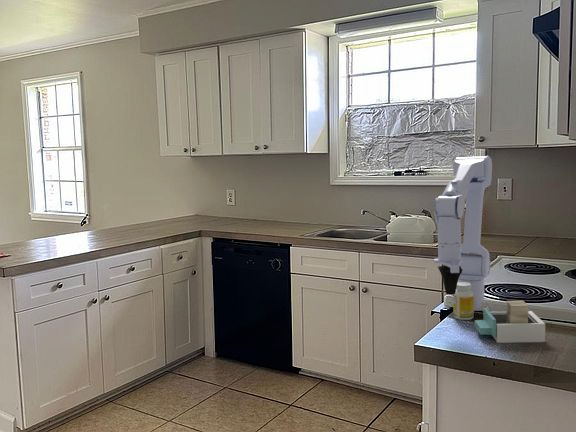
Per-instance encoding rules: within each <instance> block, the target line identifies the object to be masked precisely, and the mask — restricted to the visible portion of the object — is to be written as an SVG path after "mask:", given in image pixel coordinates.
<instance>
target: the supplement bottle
mask: <svg viewBox="0 0 576 432" xmlns="http://www.w3.org/2000/svg"><path fill="white" fill-rule="evenodd" d="M470 289H471V284H470V283H468V282H458V283H457V287H456V292H455V294H452V296H453V297H452V299H453V301H452V302H453V303H452V304H453V305H452V306H453V315H452V316H453V318H454V319H456V320H460V321H470V320H472V319H474V316H475V315H474V313H475V311H474V295H473V292H472V291H471V290H470Z"/></svg>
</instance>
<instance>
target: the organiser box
mask: <svg viewBox="0 0 576 432" xmlns="http://www.w3.org/2000/svg"><path fill="white" fill-rule="evenodd" d="M489 312H490V313H491V314H506V311H489ZM528 315H529V316H530V317H531V318H532V319H533V320H534V321H535V322H536V323H519V324H497V336H496V337H493V339H494V340H495V342H497V344H498V343H499V344H500V343H507V344H508V343H546V322H544V321H543V320H542V319H541V318H539V316H538V315H537V314H535V313H534V311H532V310H528Z"/></svg>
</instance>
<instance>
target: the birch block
mask: <svg viewBox="0 0 576 432" xmlns="http://www.w3.org/2000/svg"><path fill="white" fill-rule="evenodd" d="M505 303H506V311H505V312H506V316H507V324H519V323H528V311H529V305H528V304H527V303H526V302H525V301H524V300H506V302H505Z"/></svg>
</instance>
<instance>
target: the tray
mask: <svg viewBox="0 0 576 432" xmlns="http://www.w3.org/2000/svg"><path fill="white" fill-rule="evenodd" d="M487 308H488V307H487ZM487 308H483V311H482V312H483V313H482V314H483V315H482V316H483V317H482V318H483V319H476V320H475V319H474V327H475V329H476V330H477V332H478V333H479V335H491V337H493V338H494V337H496V336H497V324H507V316H506V314H491V313H490V312H491V311H490V310H488V309H489V308H488V309H487ZM528 323H536V322H535V321H534V320H533V319H532V318H531V317H530V316H529V315H528Z"/></svg>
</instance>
